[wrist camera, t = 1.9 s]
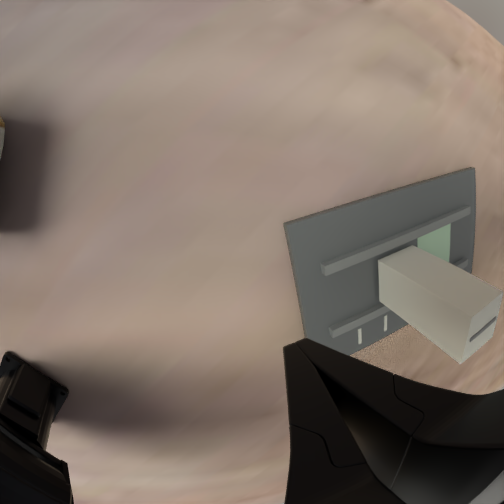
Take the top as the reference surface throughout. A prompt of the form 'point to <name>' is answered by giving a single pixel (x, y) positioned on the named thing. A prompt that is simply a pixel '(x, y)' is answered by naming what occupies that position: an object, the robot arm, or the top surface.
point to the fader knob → (439, 300)
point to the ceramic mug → (1, 135)
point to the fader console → (374, 254)
